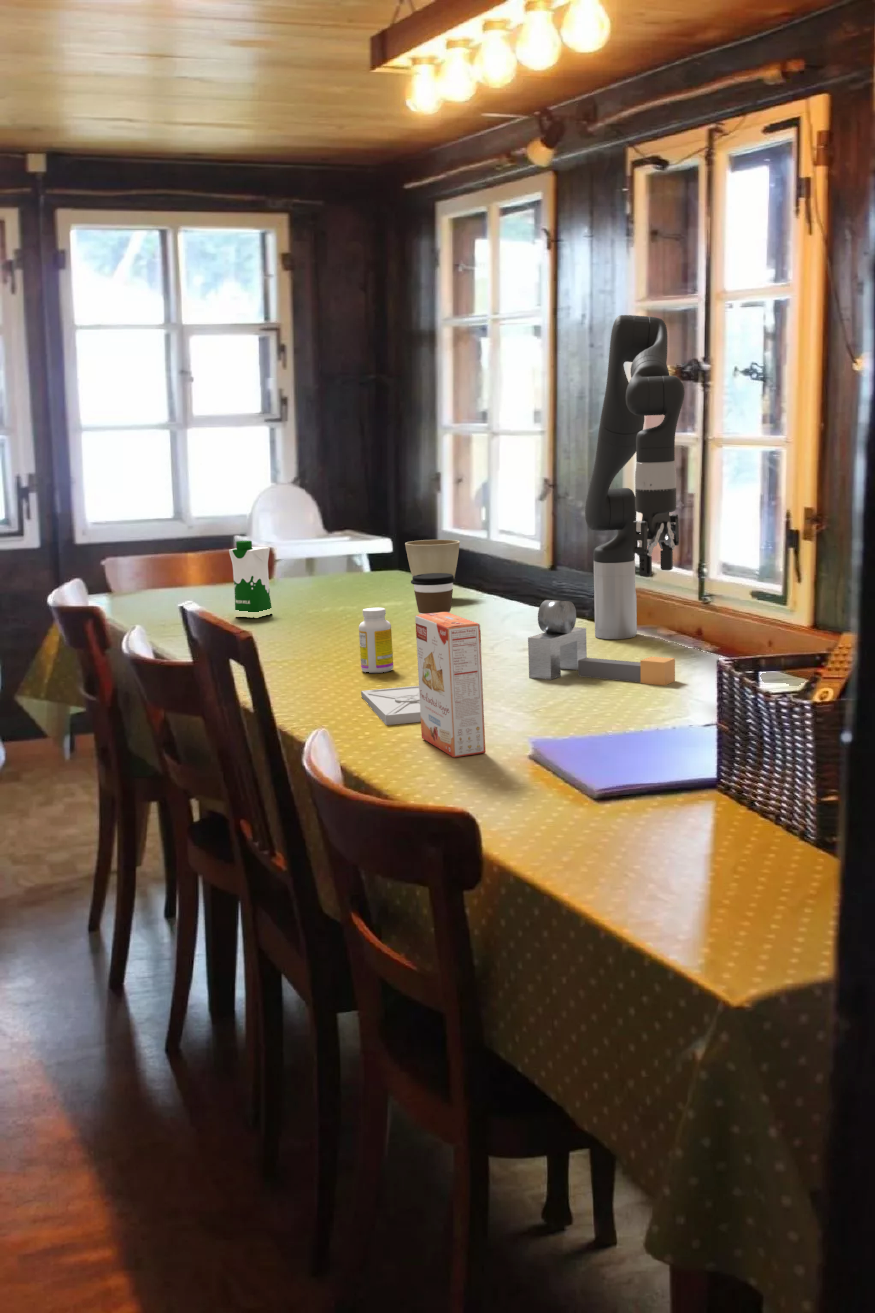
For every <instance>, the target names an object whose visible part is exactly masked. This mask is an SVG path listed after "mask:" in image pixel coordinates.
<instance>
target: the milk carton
mask: <svg viewBox="0 0 875 1313" xmlns="http://www.w3.org/2000/svg"><path fill="white" fill-rule="evenodd" d="M235 543H236V545H235V548H232V549H228V553H229V556H230V560H231V561H230V562H231V563H232V565H231V566H232V578H233V589H234V611H235V610H239V611H248V612H259V611H263V610H267V609H270V608H272V602H271V601H272V600H271V595H270V592H271V591H270V579H269V557H270V550H271V547H270V546H269V547H267V546H253V544H252V543H253V542H252V540H237V541H236V542H235ZM272 609H273V608H272Z"/></svg>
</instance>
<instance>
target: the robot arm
mask: <svg viewBox="0 0 875 1313" xmlns="http://www.w3.org/2000/svg"><path fill="white" fill-rule="evenodd" d="M609 342H610V343H609V354H608V363H607V364H608V366H607V376H606V378H607V379H606V387H605V391H604V398H603V404H602V409H601V414H600V418H599V419H600V421H599V426H598V434H597V442H596V443H597V444H596V452H595V461H594V465H593V470H592V475H591V477H590V478H591V479H590V482H589V487H588V491H587V495H586V498H585V499H586V501H585V507H584V515H585V516H584V518H585V523H586V525H587V527H588V528H589V529H590V530H591V531H598V532H601V531H605V532H606V531H616V534H615V536H614V537H613V538H612V539H610V540H609V541H607V542H605V543H603V544H600V545H599V546H596V547H595V548H594V549H593V555H592V556H593V559H592V560H593V586H594V587H593V590H594V591H593V593H594V594H593V595H594V596H593V597H594V636H595V638H597V639H605V640H623V639H630V638H634V637H636V636H637V633H638V621H637V618H638V617H637V612H638V610H637V592H636V555H637V556H638V560H639V564H638V566H639V567H638V568H639V572H638V573H639V575H640V577H650V576H652V575H653V570H652V568H653V566H652V565H653V564H652V563H653V562H652V561H653V558H652V554H653V550H654V547H656V546H657V545H659V547H660V569H661V570H662V571H672V570H673V569H674V565H673V564H674V563H673V562H674V561H673V560H674V558H673V556H674V554H673V553H674V552H673V551H674V550H675V549H676V547H675V546H679V545H680V532H679V531H680V529H679V526H680V525H679V515H678V514H674V512H676V510H677V470H676V463H675V462H676V461H675V459H676V456H675V454H676V452H675V446H676V445H675V444H676V442H675V441H676V431H677V425H678V421H679V418H680V415H681V414H680V413H681V411H682V406H683V404H684V400H685V387H684V383H683V382H682V380H681V379H680V378H679V377H677V376H675V375H670V372H669V369H668V364H667V361H668V329H667V325H666V322H665V321H664V320H663V319H661V318H659V317H656V316H649V315H647V316H645V315H634V314H633V315H632V314H621V315H617V317H616V318H615V319H614V321H613V325H612V328H611V333H610V341H609ZM626 362H627V363H631V365H630V377H631V378H630V380H628V377H627V374H626V370H625V366H624V365H625V363H626ZM646 416H664V417H663V420H662V422H661V423H659V424H658V425H657V426H654V427H649V428H646V429H644V426H645V419H646V418H645V417H646ZM634 455H636V456H635V459H636V461H635V463H636V464H635V470H634V471H635V473H634V474H635V476H634V480H635V481H634V491H633V489H631V488H628V487H617V488H616V487H615V488H611V484H612V483H613V481H614V479H615V477H616V476H617V474H618V473H619V472H620V471H622V469H623V468H624V467H625V466H626V465H627V464H628V462H630V460H631V459H632V458H633V456H634ZM637 513H638V514H642V516H641V520H637ZM638 544H639V545H638Z"/></svg>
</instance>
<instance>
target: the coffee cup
mask: <svg viewBox="0 0 875 1313" xmlns="http://www.w3.org/2000/svg"><path fill="white" fill-rule="evenodd" d="M411 577H412V576H411ZM456 580H457V579H456V578H455V576H454V575H452V574H448V573H428V574H419V575H415V576H413V577H412V579H411V580H410V584H412V585H413V588H414V591H413V592H414V596H415V603H416V605H417V606H416V608H417V612H418V615H419V614H426V613H439V612H448V613H451V609H452V600H453V591H454V589H453V585H454V584H455V582H457V581H456Z"/></svg>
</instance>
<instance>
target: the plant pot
mask: <svg viewBox="0 0 875 1313" xmlns="http://www.w3.org/2000/svg"><path fill="white" fill-rule="evenodd" d="M460 543H461V542H460V540H456V539H423V540H422V539H421V540H414V541H413V540H412V541H407V542H405V543H404V545H405V551H406V554H407V555H406V556H407V560H408V565H409V569H410V573H411V577H413V576H415V575H419V574H428V573H448V574H452V575H454V577H456V572H457V567H458V566H457V565H458V561H459V560H458V558H459V552H460Z"/></svg>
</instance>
